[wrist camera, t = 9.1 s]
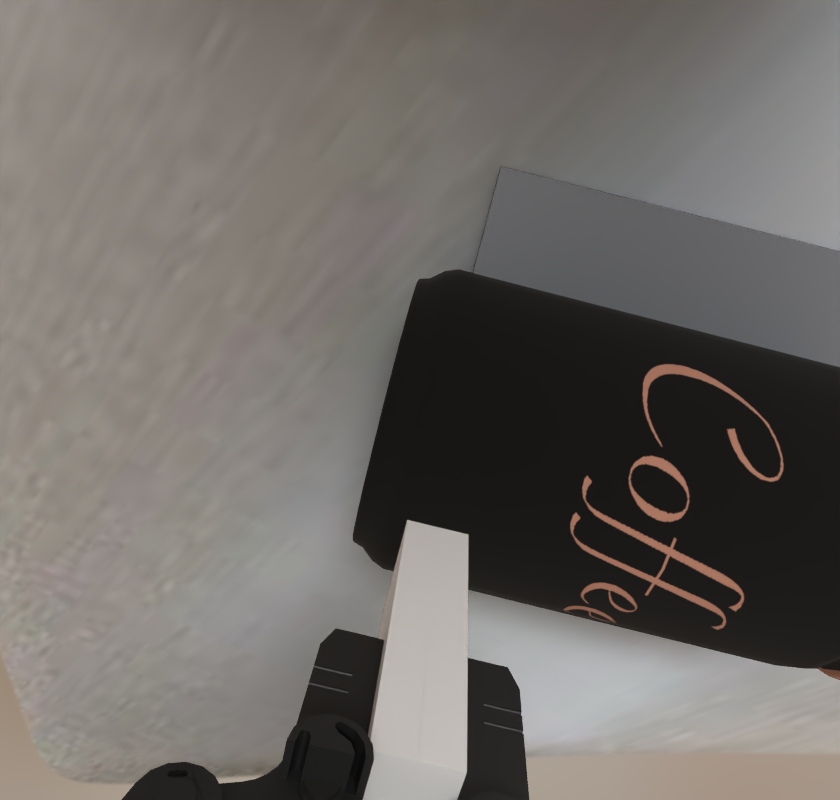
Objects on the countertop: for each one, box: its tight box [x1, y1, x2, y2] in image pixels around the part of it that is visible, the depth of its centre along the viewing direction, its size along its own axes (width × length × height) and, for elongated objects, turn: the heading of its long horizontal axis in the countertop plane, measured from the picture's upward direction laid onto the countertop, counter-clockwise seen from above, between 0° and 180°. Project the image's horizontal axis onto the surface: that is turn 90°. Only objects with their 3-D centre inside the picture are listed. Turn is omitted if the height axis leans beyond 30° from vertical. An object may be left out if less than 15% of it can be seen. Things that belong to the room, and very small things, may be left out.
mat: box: [473, 166, 840, 367], centre depth 30 cm, size 22×18×1 cm
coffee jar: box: [353, 270, 840, 680], centre depth 25 cm, size 11×11×18 cm
